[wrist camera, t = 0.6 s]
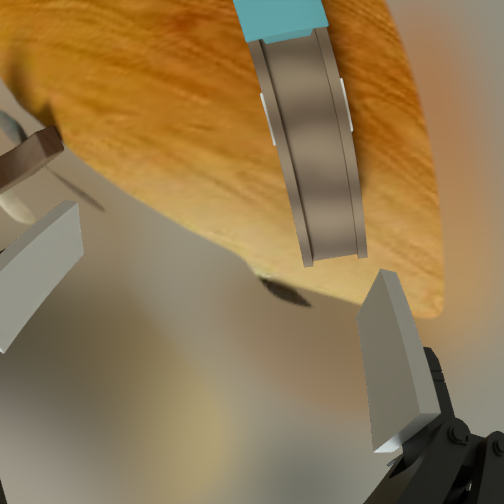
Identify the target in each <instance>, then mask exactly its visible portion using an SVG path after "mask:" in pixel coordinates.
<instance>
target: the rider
mask: <svg viewBox="0 0 504 504" xmlns="http://www.w3.org/2000/svg"><path fill="white" fill-rule="evenodd" d="M233 2H234V5H235V8H236V11H237V14H238V18H239V21H240V24H241V27H242V30H243V34H244V37H245V40H246V42H251V41H255V40H259V39H263V40H264V42H265V43H266V44H269V43H274V42H278V41H283V40H288V39H293V38H299V37H304V36H310V35H311V32H312V30H313V29H314V28H321V27H328V26H329V24H328V21H327V18H326V15H325V11H324V8H323V5H322V2H321V0H233Z"/></svg>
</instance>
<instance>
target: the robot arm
mask: <svg viewBox="0 0 504 504" xmlns="http://www.w3.org/2000/svg"><path fill="white" fill-rule="evenodd" d="M83 254H84V252H83V245H82V237H81V229H80V220H79V209H78V202H73V201H68V200H65V201H63V202H62V203H60V204H59V205H58V206H56V207H55V208H54V209H53V210H51V211H50V212H49V213H48V214H46V215H45V216H44V217H42V218H41V219H40V220H39V221H38V222H36V223H35V224H34V225H33V226H32V227H30V228H29V229H28V230H27V231H26V232H24V233H23V234H22V235H21V236H20V237H19V238H17V239H16V240H15V241H14V242H13V243H12V244H11V245H10V246H9V247H7V248H6V249H4V250H2V251H0V352H2V353H5V351H6V350H7V348H8V347H9V345H10V344H11V343H12V341H13V340H14V339H15V337H16V336H17V334H18V333H19V332H20V330H21V329H22V328H23V326H24V325H25V324H26V322H27V321H28V320H29V319H30V317H31V316H32V315H33V313H34V312H35V311H36V310H37V308H38V307H39V306H40V304H41V303H42V302H43V301H44V299H45V298H46V297H47V296H48V294H49V293H50V292H51V291H52V290H53V289H54V287H55V286H56V285H57V284H58V283H59V281H60V280H61V279H62V278H63V277H64V276H65V274H66V273H67V272H68V271H69V270H70V268H71V267H72V266H73V265H74V264H75V263H76V262H77V261H78V260H79V258H80V257H81V256H82V255H83ZM356 319H357V324H358V330H359V337H360V343H361V350H362V356H363V363H364V370H365V378H366V385H367V394H368V403H369V412H370V422H371V433H372V445H373V452H393V451H395V450H396V449H397V448H399V447H400V446H401V445H402V448H403V453H402V454H401V455H399V456H398V457H397V458H395V459H394V460H392V461H391V462H390V463H388V464H387V466H388V467H389V466H391V465H392V464H393V466H392V467H391V468H390V470H389V471H388V473H387V474H386V475H385V477H384V478H383V479H382V481H381V482H380V483H379V485H378V486H377V487H376V488H375V490H374V491H373V492H372V493H371V495H370V496H369V497H368V498H367V500H366V501H365V502H364V503H363V504H504V433H502V432H500V431H495V432H493V433H491V434H490V435H488V436H487V437H486V438H484V437H480V436H477V435H474V434H471V433H470V431H469V428H468V426H467V425H466V424H465V423H464V422H463V421H462V420H460V419H458V418H455V415H454V412H453V408H452V404H451V400H450V397H449V393H448V390H447V386H446V383H445V382H444V376H443V373H441V371H442V370H441V366H440V363H439V360H438V358H437V357H436V355H435V354H434V352H433V351H432V349H431V348H428V347H423V346H422V343H421V340H420V337H419V334H418V331H417V328H416V325H415V322H414V319H413V316H412V313H411V310H410V308H409V305H408V302H407V299H406V297H405V294H404V291H403V289H402V286H401V284H400V281H399V278H398V276H397V273H396V272H392V271H388V270H384V269H380V271H379V273H378V275H377V277H376V279H375V281H374V283H373V285H372V287H371V289H370V291H369V293H368V295H367V297H366V299H365V301H364V302H363V304H362V306H361V308H360V310H359V312H358V314H357V316H356ZM471 483H472V484H471ZM470 484H471V489H470V491H469V486H470ZM0 504H7V501H6V498H5V495H4V491H3V488H2V484H1V480H0Z"/></svg>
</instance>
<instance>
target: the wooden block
mask: <svg viewBox="0 0 504 504" xmlns="http://www.w3.org/2000/svg"><path fill="white" fill-rule="evenodd" d="M63 151H64V147H63V145H62V143H61V140H60V138H59V136H58V134H57V132H56V129H55V127H54V126H51V127H48V128H45V129H43V130H40V131H37V132H35V133H34V134H33V135H31V136H30V137H29V138H28V139H26V140H25V141H24V142H23V143H21V144H20V145H18V146H17V147H15V148H14V149H12V150H10V151H9V152H7V153H5V154H4V155H2V156H0V194H2V193H3V192H5V191H7V190H8V189H10V188H11V187H13V186H15V185H16V184H18V183H20V182H21V181H23V180H25V179H27V178H28V177H30V176H32V175H33V174H35V173H36V172H37V171H39V170H40V169H41V168H42V167H44V166H45V165H46V164H47V163H49V162H50V161H51V160H53V159H54V158H55V157H56V156H58V155H59V154H60V153H62V152H63Z"/></svg>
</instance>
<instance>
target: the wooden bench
mask: <svg viewBox="0 0 504 504" xmlns="http://www.w3.org/2000/svg"><path fill="white" fill-rule="evenodd" d="M248 46H249V49H250V52H251V56H252V59H253V63H254V66H255V70H256V73H257V77H258V80H259V84H260V87H261V91H262V93H260V95H261V99H262V103H263V106H264V110H265V114H266V117H267V121H268V125H269V129H270V132H271V136H272V140H273V144H274V145H276V147H277V151H278V155H279V159H280V163H281V167H282V171H283V175H284V179H285V183H286V188H287V192H288V196H289V200H290V205H291V209H292V213H293V218H294V222H295V227H296V231H297V236H298V240H299V245H300V249H301V254H302V259H303V263H304V267H310V266H313V261H316V260H322V259H328V258H335V257H341V256H347V255H353V254H357V255H358V258H359V259H360V258H366V257H368V256H367V244H366V233H365V223H364V214H363V205H362V197H361V190H360V182H359V175H358V169H357V162H356V156H355V150H354V144H353V139H352V133H351V131H353V127H352V121H351V116H350V111H349V107H348V102H347V97H346V93H345V88H344V84H343V79H342V78H340V76H339V72H338V68H337V64H336V60H335V57H334V53H333V49H332V45H331V42H330V38H329V35H328V31H327V28H326V27H321V28H314V29H313V30H312V32H311V35H310V36H304V37H299V38H293V39H288V40H283V41H278V42H274V43H269V44H266V43H265V42H264V40H263V39H259V40H255V41H251V42H248Z"/></svg>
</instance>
